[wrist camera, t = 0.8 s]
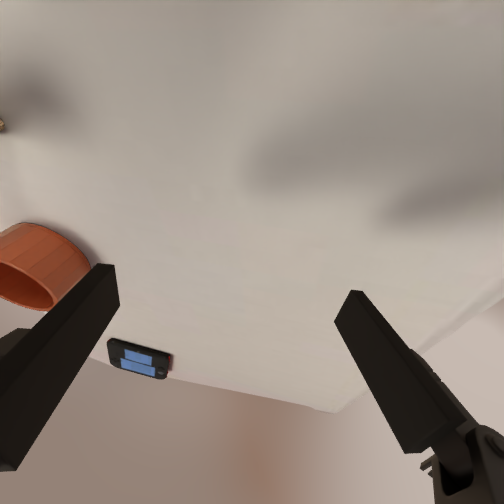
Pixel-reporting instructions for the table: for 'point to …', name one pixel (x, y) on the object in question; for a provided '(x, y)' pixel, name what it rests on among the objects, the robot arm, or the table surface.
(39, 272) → the cup
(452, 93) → the table surface
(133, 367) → the game console
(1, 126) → the handle
